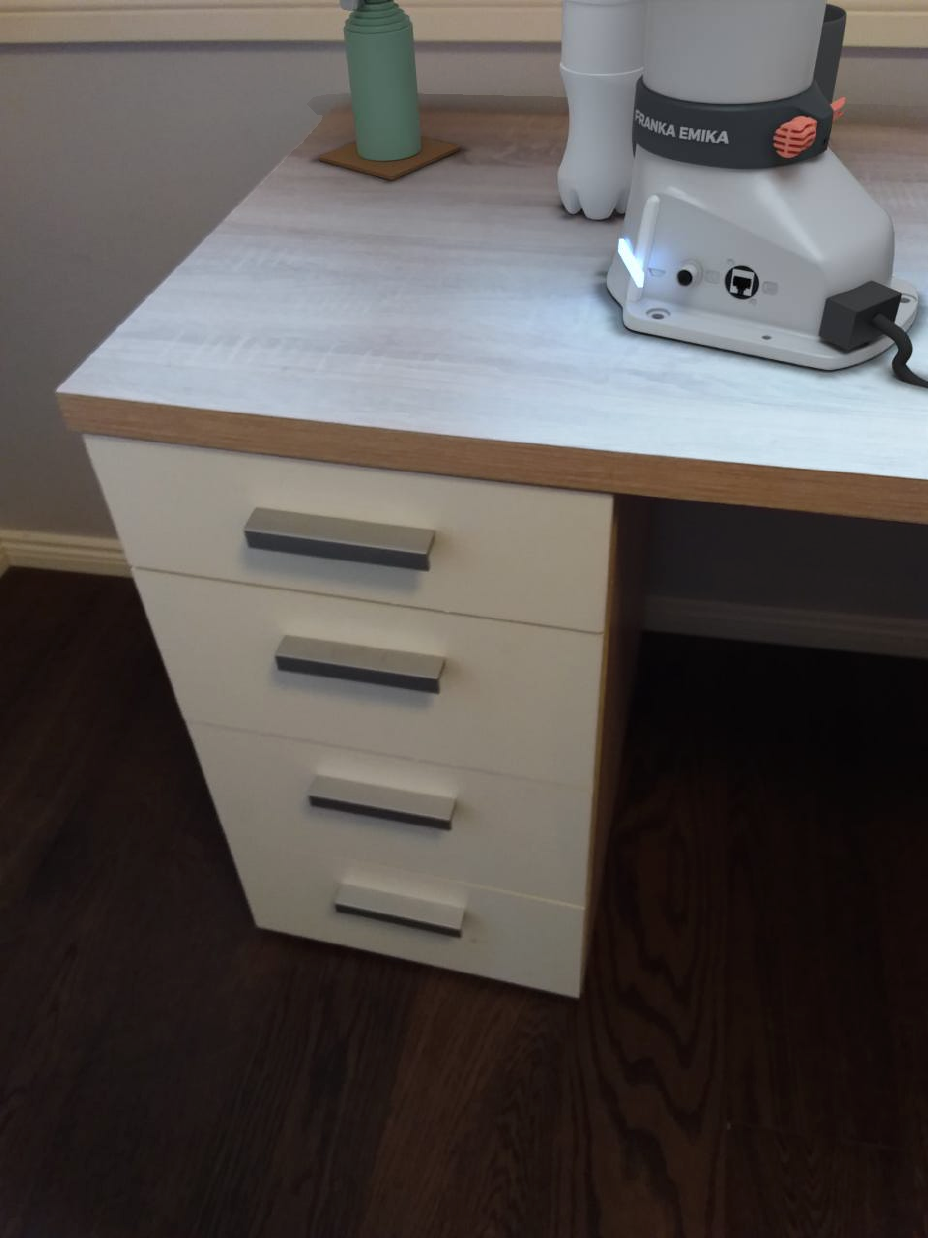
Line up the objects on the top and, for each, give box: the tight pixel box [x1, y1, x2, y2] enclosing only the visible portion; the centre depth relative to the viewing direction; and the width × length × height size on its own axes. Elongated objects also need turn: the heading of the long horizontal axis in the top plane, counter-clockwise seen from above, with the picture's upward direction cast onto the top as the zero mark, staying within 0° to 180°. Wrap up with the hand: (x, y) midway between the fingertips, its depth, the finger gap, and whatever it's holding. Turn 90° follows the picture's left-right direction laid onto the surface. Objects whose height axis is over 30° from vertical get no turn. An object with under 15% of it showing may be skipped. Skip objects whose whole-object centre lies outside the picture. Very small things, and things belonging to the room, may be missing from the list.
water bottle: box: [556, 0, 648, 221], centre depth 80 cm, size 7×7×25 cm
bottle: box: [342, 0, 422, 161], centre depth 96 cm, size 6×6×15 cm
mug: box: [813, 3, 848, 104], centre depth 94 cm, size 14×9×12 cm
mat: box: [318, 136, 461, 181], centre depth 101 cm, size 10×10×1 cm
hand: (372, 2), depth 93 cm, fingers closed on cap, 4 cm apart
